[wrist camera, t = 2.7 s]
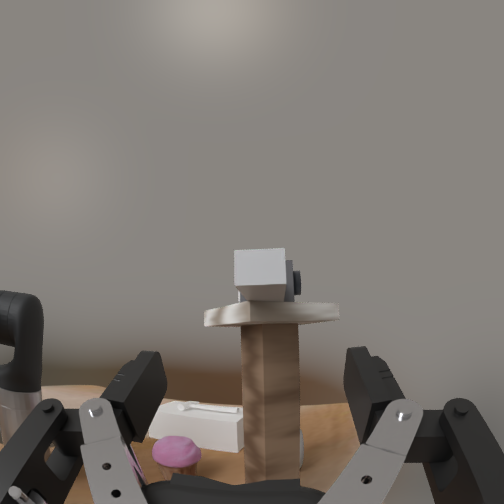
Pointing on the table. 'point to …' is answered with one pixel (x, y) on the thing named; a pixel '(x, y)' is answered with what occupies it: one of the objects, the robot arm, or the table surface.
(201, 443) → the tissue box
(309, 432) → the table surface
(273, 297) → the grey block with knob
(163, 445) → the cupcake
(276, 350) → the stand
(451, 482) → the robot arm
